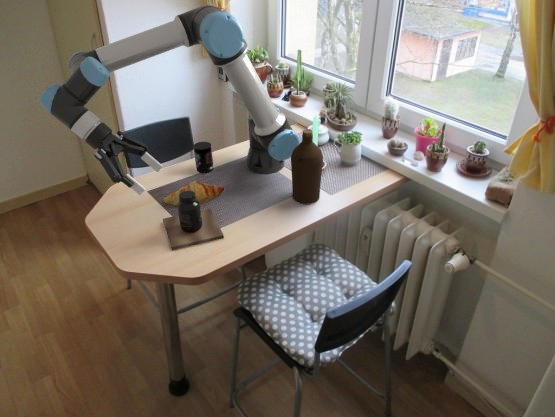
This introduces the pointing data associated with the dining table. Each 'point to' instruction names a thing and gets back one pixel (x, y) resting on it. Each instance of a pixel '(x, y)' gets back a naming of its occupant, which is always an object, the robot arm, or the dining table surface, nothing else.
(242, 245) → the dining table surface
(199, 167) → the supplement container
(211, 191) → the croissant
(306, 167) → the olive oil
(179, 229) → the brown cloth napkin
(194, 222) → the supplement bottle
